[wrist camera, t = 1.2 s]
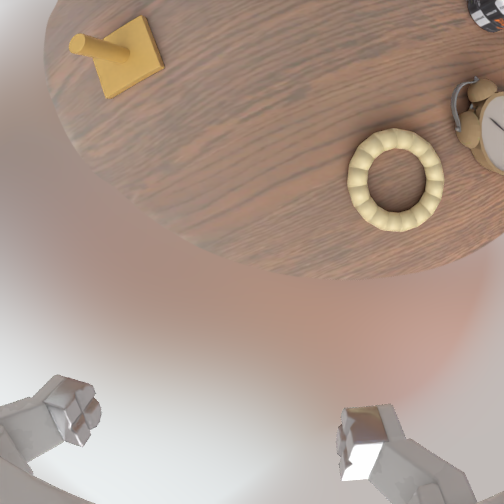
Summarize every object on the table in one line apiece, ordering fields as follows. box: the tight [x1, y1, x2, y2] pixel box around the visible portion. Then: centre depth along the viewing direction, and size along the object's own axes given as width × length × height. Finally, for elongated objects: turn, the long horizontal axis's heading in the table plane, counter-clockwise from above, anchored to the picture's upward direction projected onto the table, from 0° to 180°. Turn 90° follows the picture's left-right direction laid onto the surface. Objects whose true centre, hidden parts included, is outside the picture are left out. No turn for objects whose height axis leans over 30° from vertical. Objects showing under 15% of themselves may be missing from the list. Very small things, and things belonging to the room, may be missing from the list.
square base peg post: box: [69, 15, 165, 99], centre depth 29 cm, size 9×9×12 cm
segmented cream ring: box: [347, 128, 444, 232], centre depth 34 cm, size 13×13×2 cm
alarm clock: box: [451, 76, 504, 176], centre depth 28 cm, size 11×5×15 cm
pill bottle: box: [468, 0, 504, 32], centre depth 18 cm, size 6×6×11 cm
